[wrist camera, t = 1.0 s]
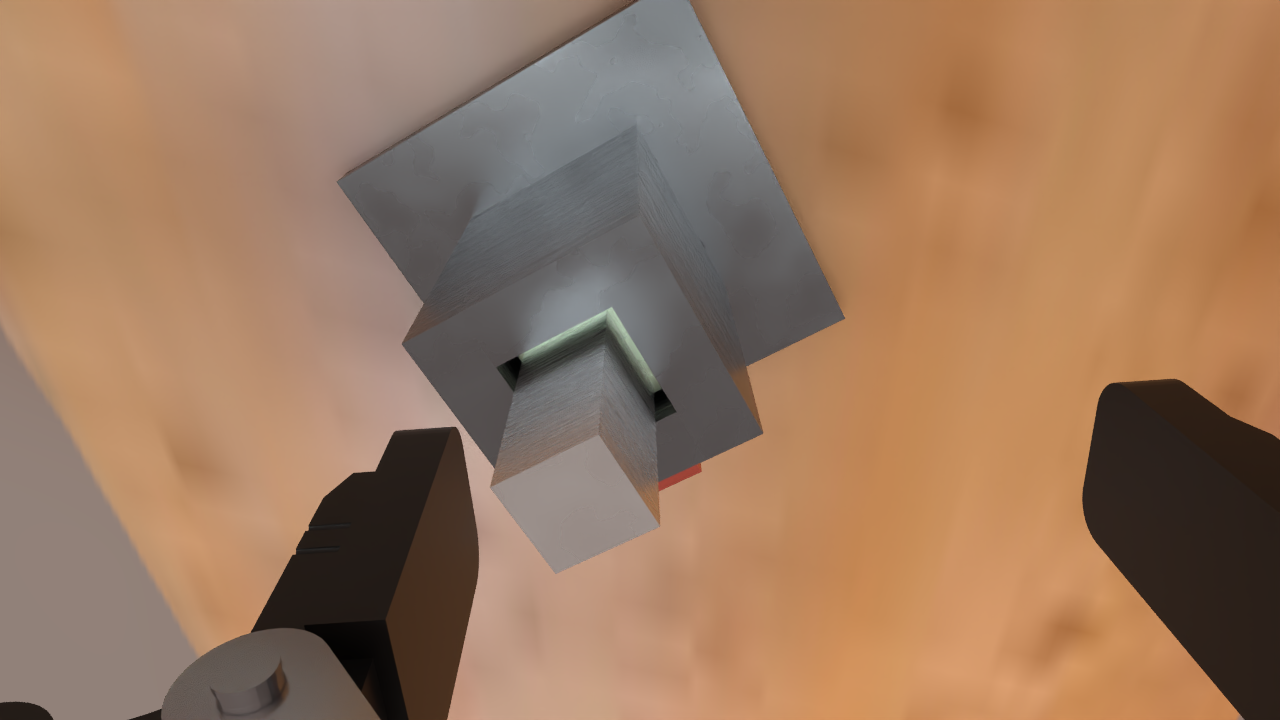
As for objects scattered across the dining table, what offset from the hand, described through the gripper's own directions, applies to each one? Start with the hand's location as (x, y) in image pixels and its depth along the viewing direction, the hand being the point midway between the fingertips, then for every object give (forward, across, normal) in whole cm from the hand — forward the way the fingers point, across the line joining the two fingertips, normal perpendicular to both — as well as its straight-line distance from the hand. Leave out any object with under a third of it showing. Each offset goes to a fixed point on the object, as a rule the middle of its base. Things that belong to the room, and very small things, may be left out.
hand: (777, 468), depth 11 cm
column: (+26, +3, +5) cm, 27 cm away
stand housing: (+28, +3, +5) cm, 29 cm away
